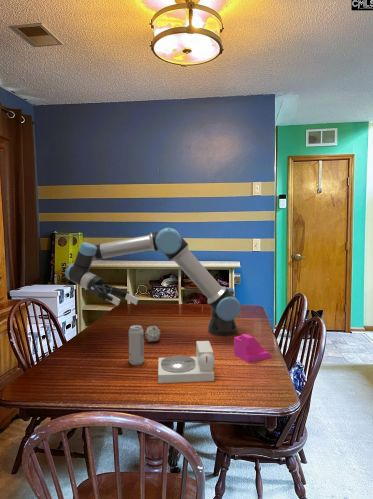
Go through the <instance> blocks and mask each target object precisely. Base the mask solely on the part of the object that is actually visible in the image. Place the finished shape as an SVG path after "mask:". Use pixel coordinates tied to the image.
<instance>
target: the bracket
mask: <svg viewBox="0 0 373 499" xmlns="http://www.w3.org/2000/svg"><path fill="white" fill-rule="evenodd" d="M233 355H234V356H236V357H237V358H240V360H242V361H245V362H246V363H248V364H249V363H253V362H259V361H262V360H267V359H271V358H273V356H272V354H270V352H268V351H266V350H265V349H264V348H263V347H262V345H261V343H260V342H259V341H258V340H257V339H256V338H255V337H254V336H251V335H250V334H247V333H244V334H240V335H239V336H233Z"/></svg>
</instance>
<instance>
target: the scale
mask: <svg viewBox="0 0 373 499" xmlns="http://www.w3.org/2000/svg"><path fill="white" fill-rule="evenodd" d="M195 344H196V347H195V349H196V351H195V352H196V356H190V357H191V358H193V359H194V360H195V367H194V368H193V369H192V370H190V371H186V372H169V371H166V370H164V369H163V368H162V367H161V361H162V360H163V359H164V358H165V357H158V363H157V364H158V365H157V366H158V369H157V372H158V373H157V376H158V377H157V378H158V379H157V380H158V384H172V383H173V384H174V383H175V384H176V383H194V382H195V383H197V382H215V371H214V366H215V363H216V360H215V358H214V351H213V347H212V345H211V342H210V341H209V340H196V341H195Z"/></svg>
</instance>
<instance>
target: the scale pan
mask: <svg viewBox="0 0 373 499" xmlns="http://www.w3.org/2000/svg"><path fill="white" fill-rule="evenodd" d="M191 357H192V356H187V355H171V356H167V357H163V358H164V359H163V360H162V361H161V367H162V368H163V369H164V370H166V371H169V372H186V371H190V370H192V369H193V368H194V367H195V360H194V359H193V358H191Z"/></svg>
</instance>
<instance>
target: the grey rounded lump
mask: <svg viewBox="0 0 373 499" xmlns="http://www.w3.org/2000/svg"><path fill="white" fill-rule="evenodd" d="M146 327H147V328H146V330H145V333H144V336H145V338H146V339H147V343H148V344H149V343H150V342H151V343H152V342H158V343H159V342H160V340H159V339H160V337H161V334H162V333H163V331H161V330H160V329H159V327H158V324H156V325H149V326H148V325H146Z"/></svg>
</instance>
